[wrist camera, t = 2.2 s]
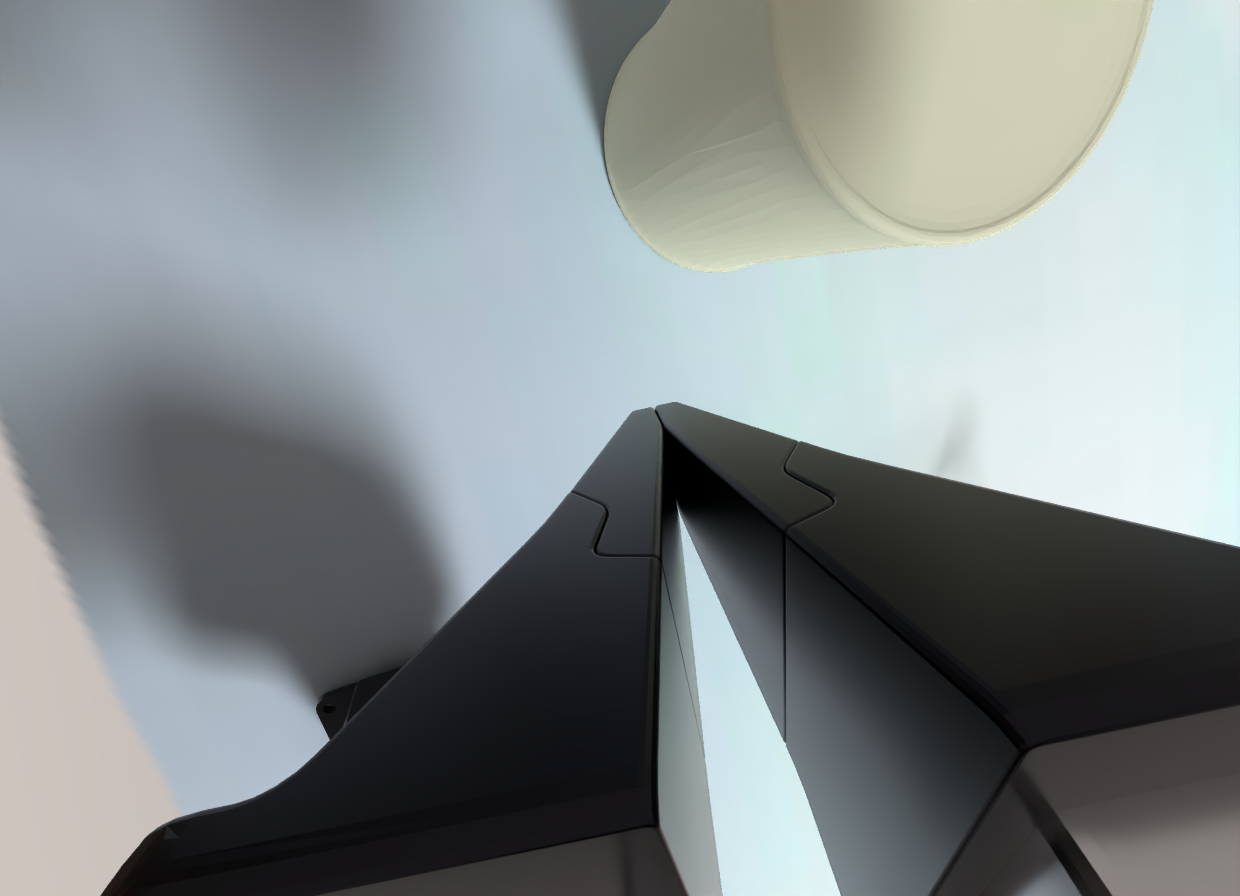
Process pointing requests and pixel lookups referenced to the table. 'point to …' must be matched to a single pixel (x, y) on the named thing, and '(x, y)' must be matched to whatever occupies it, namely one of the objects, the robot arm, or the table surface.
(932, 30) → the can
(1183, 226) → the table surface
